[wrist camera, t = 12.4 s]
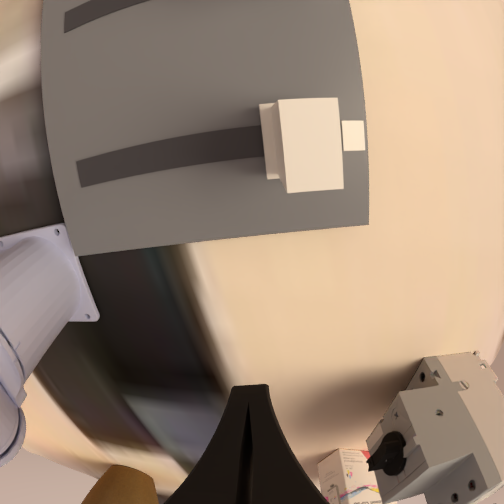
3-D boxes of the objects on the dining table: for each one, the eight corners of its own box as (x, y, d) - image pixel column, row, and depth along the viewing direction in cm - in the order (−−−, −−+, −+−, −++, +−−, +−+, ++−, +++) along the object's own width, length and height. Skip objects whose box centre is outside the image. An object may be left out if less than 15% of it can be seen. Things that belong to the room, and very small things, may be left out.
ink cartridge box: (385, 450, 31) (408, 537, 17) (361, 466, 32) (379, 548, 19) (338, 447, 29) (357, 550, 16) (315, 463, 31) (327, 558, 18)
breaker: (266, 176, 14) (273, 200, 10) (258, 105, 13) (261, 95, 9) (326, 171, 14) (357, 193, 10) (320, 101, 13) (351, 92, 8)
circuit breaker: (367, 361, 23) (421, 519, 9) (478, 350, 23) (542, 453, 10) (342, 412, 26) (370, 544, 12) (447, 397, 26) (492, 494, 13)
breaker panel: (87, 245, 18) (74, 257, 17) (58, -13, 10) (44, -20, 9) (358, 215, 18) (369, 225, 16) (319, -68, 9) (325, -82, 8)
